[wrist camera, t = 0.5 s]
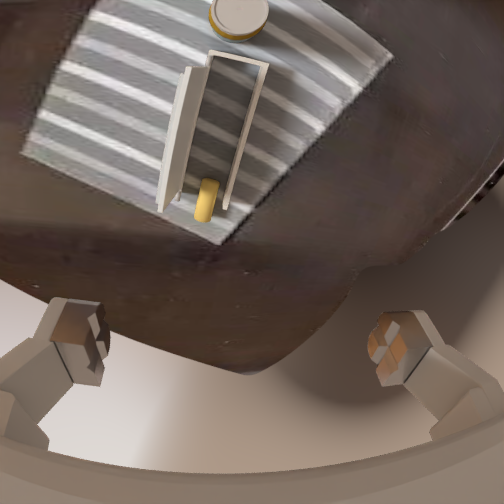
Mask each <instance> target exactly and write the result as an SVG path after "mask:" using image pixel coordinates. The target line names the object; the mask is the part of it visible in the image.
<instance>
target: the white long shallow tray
mask: <svg viewBox="0 0 504 504" xmlns="http://www.w3.org/2000/svg"><path fill="white" fill-rule="evenodd" d="M214 55H216V56H221V57H225V58H230V59H234V60H239V61H243V62H247V63H251V64H255V65H258V66H260V70H259V73H258V76H257V80H256V83H255V86H254V90H253V93H252V96H251V100H250V103H249V106H248V110H247V113H246V117H245V120H244V124H243V127H242V131H241V134H240V138H239V141H238V145H237V149H236V152H235V156H234V159H233V163H232V167H231V170H230V174H229V178H228V182H227V185H226V189H225V193H224V197H223V209H225V210H227V207H228V204H229V200H230V196H231V193H232V189H233V185H234V182H235V178H236V175H237V171H238V167H239V164H240V160H241V157H242V153H243V150H244V146H245V143H246V139H247V136H248V133H249V129H250V126H251V122H252V119H253V115H254V112H255V109H256V105H257V102H258V99H259V95H260V92H261V89H262V86H263V82H264V79H265V76H266V73H267V69H268V66H269V64H268V63H265V62H261V61H257V60H254V59H250V58H246V57H241V56H237V55H233V54H229V53H224V52H219V51H214V50H210V51H209V54H208V56H207V60H206V63H205V67H207V70H206V74H205V78H204V82H203V86H202V89H201V93H200V97H199V101H198V105H197V110H196V114H195V118H194V122H193V127H192V131H191V135H190V140H189V144H188V149H187V154H186V158H185V163H184V168H183V173H182V178H181V183H180V189H179V191H178V192H177V194H176V197H175V201H180V197H181V193H182V188H183V183H184V178H185V173H186V168H187V163H188V158H189V154H190V149H191V145H192V140H193V136H194V131H195V127H196V123H197V118H198V114H199V110H200V106H201V102H202V98H203V94H204V90H205V86H206V83H207V79H208V75H209V71H210V68H211V64H212V60H213V57H214Z"/></svg>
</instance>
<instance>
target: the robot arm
mask: <svg viewBox="0 0 504 504" xmlns="http://www.w3.org/2000/svg"><path fill="white" fill-rule="evenodd" d="M104 317H105V309H104V305H103V304H102V303H98V302H90V301H82V300H74V299H65V298H58V297H55V298H53V299H52V300H51V301H50V303H49V305H48V307H47V309H46V311H45V313H44V315H43V317H42V320H41V322H40V323H39V326H38V328H37V330H36V332H35V334H34V337H33V338H27V339H26V340H25V341H23V342H22V343H20V344H19V345H18V346H16V347H15V348H14V349H12V350H11V351H10V352H8V353H7V354H5V355H4V356H3V357H2V358H0V504H504V392H503V390H502V388H501V386H500V385H499V383H498V381H497V380H496V379H495V378H494V377H493V376H491V375H490V374H488V373H487V372H486V371H484V370H483V369H482V368H480V367H479V366H478V365H476V364H475V363H473V362H472V361H471V360H469V359H468V358H467V357H465V356H464V355H462V354H461V353H459V352H458V351H457V350H455V349H454V348H453V347H451V346H450V345H445V343H444V342H443V340H442V338H441V336H440V335H439V333H438V331H437V330H436V328H435V327H434V325H433V323H432V322H431V320H430V318H429V317H428V315H427V314H426V312H424V311H423V310H413V311H395V312H394V311H393V312H383V313H382V314H381V315H380V316H379V318H378V320H377V322H378V325H379V326H378V327H376V328H375V329H374V330H372V332H371V334H370V336H369V338H368V353H369V355H370V358H371V359H372V360H373V361H374V362H375V363H376V364H377V367H376V373H377V375H378V378H379V380H380V383H381V385H382V386H391V385H398V384H404V386H405V387H406V388H407V389H408V390H409V391H410V392H411V393H412V394H413V395H414V396H415V397H416V398H417V399H418V400H419V401H420V402H421V403H422V404H423V405H424V406H425V407H426V408H427V409H428V410H429V411H430V412H431V413H432V414H433V415H434V416H435V417H436V418H437V419H438V420H439V421H438V422H437V423H436V424H435V425H434V426H433V427H432V428H431V429H430V432H429V433H430V435H431V438H432V441H430V442H427V443H424V444H421V445H417V446H414V447H410V448H407V449H403V450H400V451H396V452H392V453H388V454H384V455H380V456H376V457H371V458H367V459H362V460H357V461H352V462H346V463H341V464H335V465H329V466H322V467H316V468H308V469H299V470H289V471H279V472H265V473H245V474H244V473H241V474H203V473H181V472H167V471H156V470H146V469H138V468H130V467H123V466H117V465H110V464H105V463H99V462H94V461H89V460H84V459H79V458H75V457H71V456H66V455H63V454H59V453H55V452H51V451H48V445H49V438H48V437H47V435H46V434H45V433H44V432H43V431H42V430H41V428H40V427H39V426H38V425H37V424H38V423H39V422H40V421H41V419H42V418H43V417H44V416H45V415H46V414H47V413H48V412H49V411H50V409H51V408H52V407H53V406H54V405H55V404H56V403H57V402H58V401H59V400H60V399H61V397H63V396H64V394H65V393H66V392H67V391H68V390H69V389H70V388H71V387H72V386H73V383H76V384H84V385H92V386H99V387H100V385H101V381H102V377H103V372H104V365H103V362H102V360H103V359H104V358H105V357H107V356H108V352H109V348H110V329H109V325H108V323H106V322H105V321H104Z"/></svg>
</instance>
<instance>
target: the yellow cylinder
mask: <svg viewBox="0 0 504 504" xmlns="http://www.w3.org/2000/svg"><path fill="white" fill-rule="evenodd" d="M219 184H220V183H219V182H218V181H217V180H215V179H210V178H204V179H202V182H201V187H200V191H199V196H198V200H197V205H196V210H195V214H194V218H195V219H196V220H197V221H200V222H209V221H210V220H211V217H212V212H213V208H214V204H215V200H216V196H217V192H218V188H219Z"/></svg>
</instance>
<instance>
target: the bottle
mask: <svg viewBox="0 0 504 504" xmlns="http://www.w3.org/2000/svg"><path fill="white" fill-rule="evenodd" d="M268 14H269V7H268V2H267V0H213V3H212V5H211V7H210V9H209V21H210V24H211V27H212V29H213V31H214V33H215V34H216V35H217V36H218V37H219V38H220V39H222V40H224V41H226V42H230V43H240V42H244V41H246V40H248V39H250V38H252V37H253V36H255V35H256V34H258V33H259V32H260V31H261V30H262V28H263V27H264V25H265V23H266V21H267V17H268Z"/></svg>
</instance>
